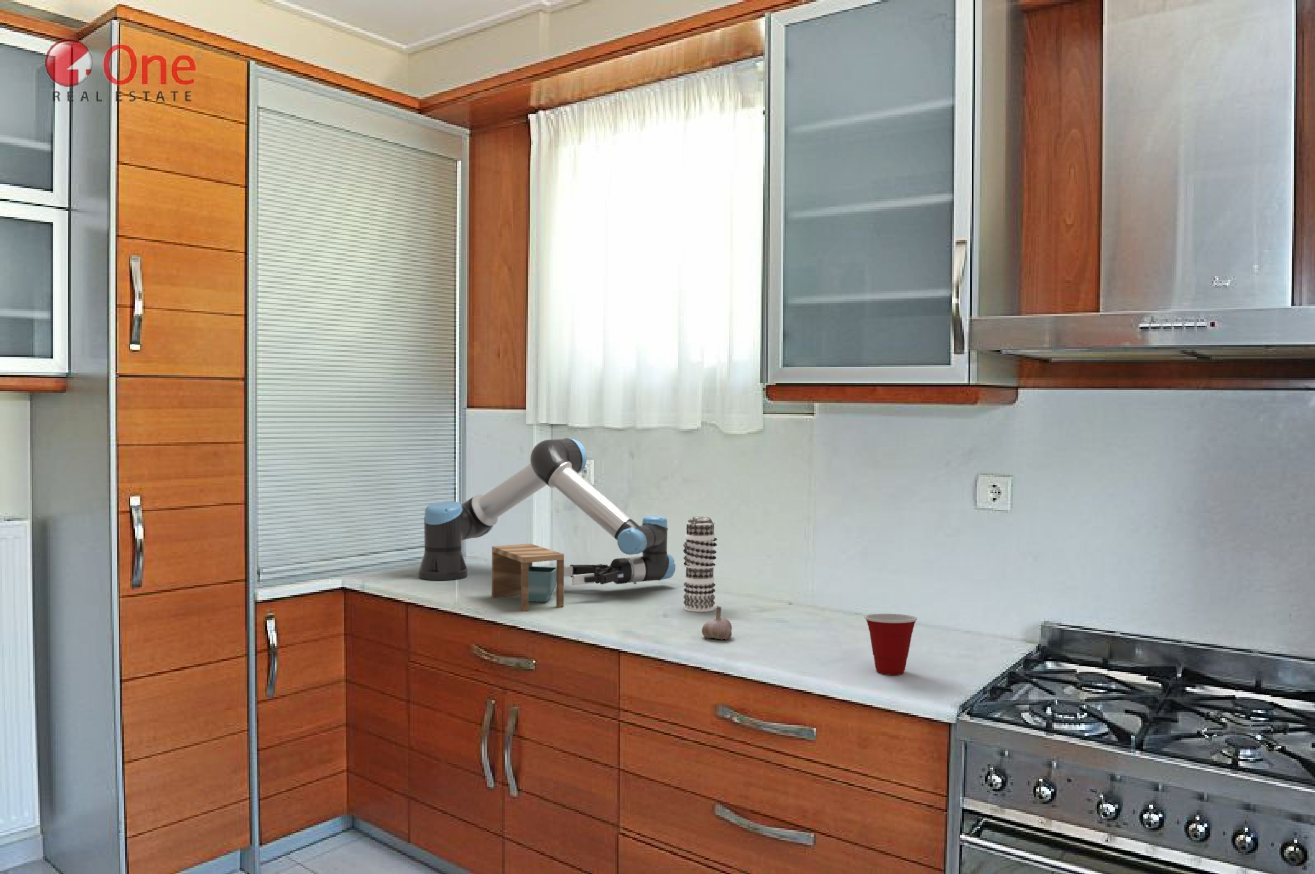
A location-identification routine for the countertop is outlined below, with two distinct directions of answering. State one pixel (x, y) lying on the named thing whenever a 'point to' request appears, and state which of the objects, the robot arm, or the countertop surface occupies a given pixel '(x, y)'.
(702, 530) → the decorative candle
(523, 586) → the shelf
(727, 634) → the garlic bulb
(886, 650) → the plastic cup
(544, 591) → the flower pot
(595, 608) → the countertop surface
